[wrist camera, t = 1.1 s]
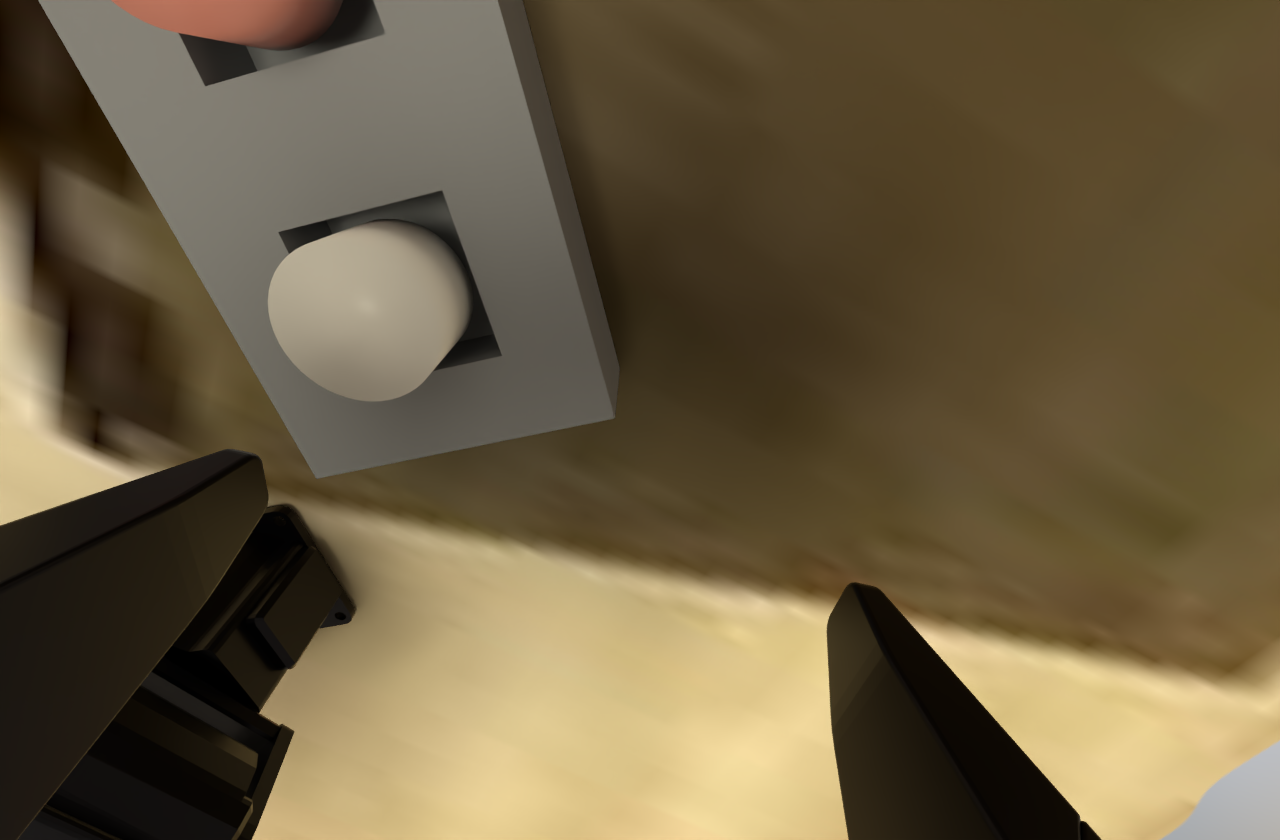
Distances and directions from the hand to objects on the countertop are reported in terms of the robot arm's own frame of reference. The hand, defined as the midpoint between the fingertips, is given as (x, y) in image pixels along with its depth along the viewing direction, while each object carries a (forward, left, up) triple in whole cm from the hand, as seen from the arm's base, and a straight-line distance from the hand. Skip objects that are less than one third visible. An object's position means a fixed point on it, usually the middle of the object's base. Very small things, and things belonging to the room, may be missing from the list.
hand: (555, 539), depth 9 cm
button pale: (-5, +3, -9) cm, 11 cm away
